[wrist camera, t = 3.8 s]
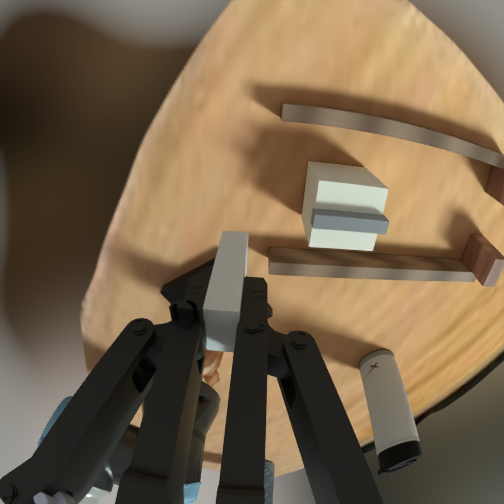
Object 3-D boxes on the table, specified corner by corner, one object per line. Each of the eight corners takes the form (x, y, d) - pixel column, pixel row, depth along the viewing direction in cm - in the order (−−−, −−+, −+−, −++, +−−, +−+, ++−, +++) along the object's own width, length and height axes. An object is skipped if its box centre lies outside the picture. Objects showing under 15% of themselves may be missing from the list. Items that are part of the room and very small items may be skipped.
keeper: (299, 216, 30) (308, 254, 24) (306, 160, 27) (319, 185, 21) (357, 221, 30) (378, 258, 24) (368, 168, 27) (395, 194, 21)
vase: (273, 458, 71) (272, 540, 47) (275, 467, 78) (273, 540, 54) (233, 458, 72) (227, 538, 49) (238, 467, 79) (234, 539, 55)
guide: (268, 258, 33) (269, 292, 28) (281, 102, 24) (285, 106, 19) (469, 269, 33) (489, 295, 28) (506, 155, 24) (537, 172, 19)
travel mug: (360, 351, 42) (386, 468, 25) (397, 346, 42) (431, 456, 25) (353, 373, 45) (372, 479, 28) (388, 368, 45) (413, 469, 28)
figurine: (163, 285, 36) (133, 359, 26) (227, 251, 33) (212, 330, 23) (210, 333, 41) (197, 406, 30) (272, 308, 38) (273, 387, 27)
